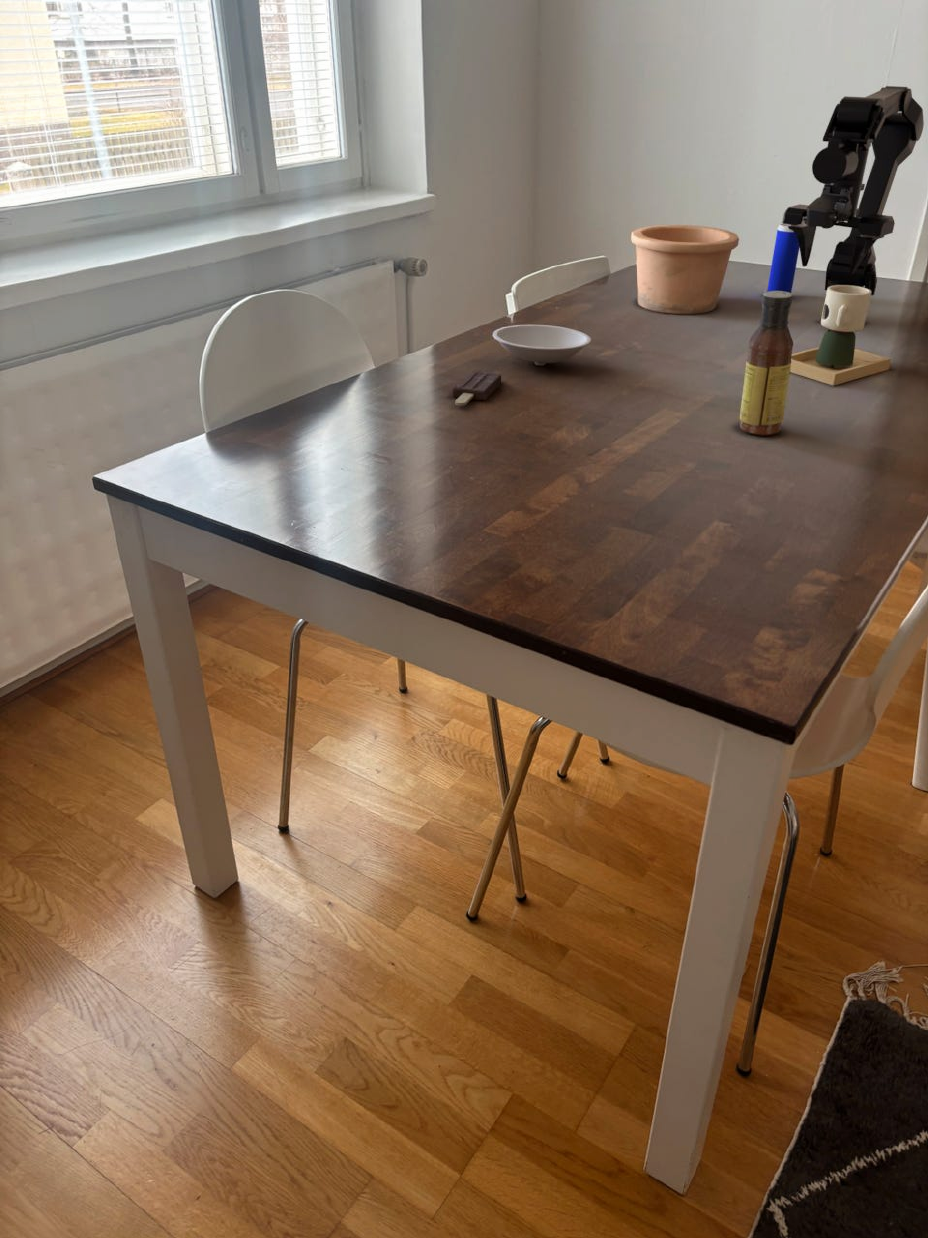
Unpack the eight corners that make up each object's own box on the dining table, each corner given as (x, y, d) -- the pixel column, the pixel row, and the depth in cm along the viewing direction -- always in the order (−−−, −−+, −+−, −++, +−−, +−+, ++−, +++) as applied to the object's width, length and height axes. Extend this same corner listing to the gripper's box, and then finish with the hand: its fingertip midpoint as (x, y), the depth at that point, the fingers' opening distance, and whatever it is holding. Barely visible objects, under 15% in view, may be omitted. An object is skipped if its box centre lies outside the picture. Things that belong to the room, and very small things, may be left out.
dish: (478, 368, 167) (478, 340, 165) (510, 347, 178) (510, 320, 176) (573, 382, 161) (575, 353, 158) (600, 359, 172) (602, 331, 170)
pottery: (652, 287, 219) (659, 220, 211) (744, 302, 208) (755, 232, 200) (607, 306, 204) (613, 235, 196) (703, 323, 193) (713, 248, 185)
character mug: (817, 354, 174) (832, 280, 167) (858, 359, 171) (875, 284, 164) (807, 370, 166) (822, 293, 159) (850, 376, 163) (867, 298, 156)
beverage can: (787, 294, 214) (800, 223, 206) (792, 300, 210) (805, 227, 202) (764, 293, 214) (776, 222, 206) (768, 299, 210) (780, 226, 202)
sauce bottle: (781, 425, 145) (807, 290, 134) (779, 439, 140) (805, 300, 129) (737, 420, 146) (759, 286, 136) (733, 434, 141) (755, 296, 131)
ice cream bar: (474, 411, 149) (502, 382, 161) (474, 400, 148) (502, 372, 160) (443, 407, 151) (473, 378, 163) (443, 397, 150) (473, 369, 162)
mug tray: (777, 368, 168) (779, 356, 167) (833, 353, 176) (835, 342, 175) (833, 385, 160) (835, 374, 159) (888, 369, 168) (891, 358, 167)
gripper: (774, 176, 169) (760, 268, 177) (877, 188, 158) (855, 285, 166) (805, 170, 175) (789, 259, 184) (905, 181, 164) (883, 275, 173)
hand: (827, 269), depth 176 cm, fingers open, 9 cm apart
